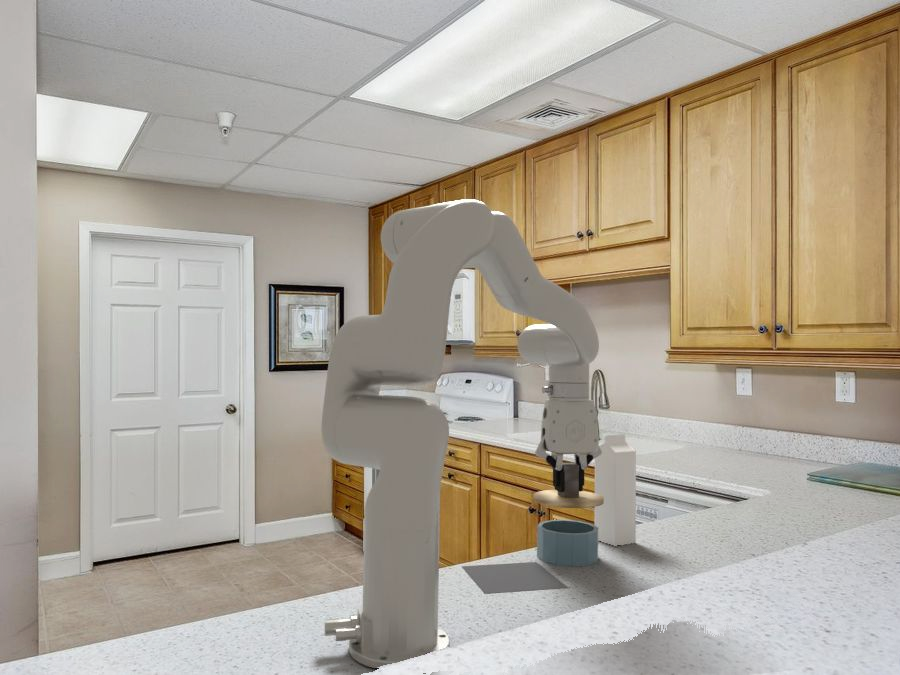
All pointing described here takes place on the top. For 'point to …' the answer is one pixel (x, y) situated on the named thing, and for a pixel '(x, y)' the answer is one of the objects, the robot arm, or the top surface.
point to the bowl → (567, 542)
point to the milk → (616, 491)
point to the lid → (569, 492)
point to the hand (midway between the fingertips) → (568, 489)
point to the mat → (512, 577)
